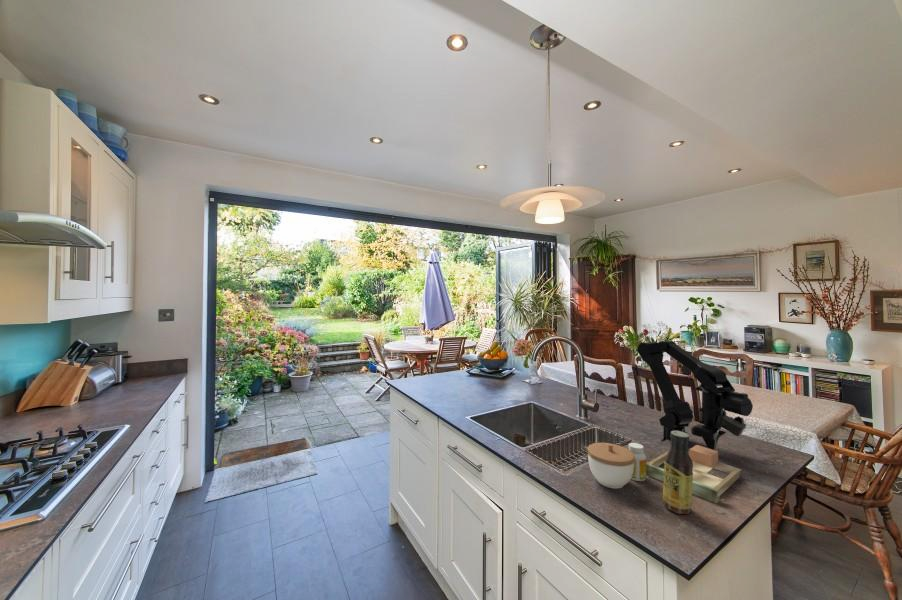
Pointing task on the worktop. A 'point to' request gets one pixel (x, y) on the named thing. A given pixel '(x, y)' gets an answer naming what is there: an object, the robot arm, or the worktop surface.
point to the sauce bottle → (678, 475)
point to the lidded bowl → (611, 464)
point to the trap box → (700, 477)
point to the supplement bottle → (638, 462)
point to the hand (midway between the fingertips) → (711, 452)
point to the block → (703, 455)
